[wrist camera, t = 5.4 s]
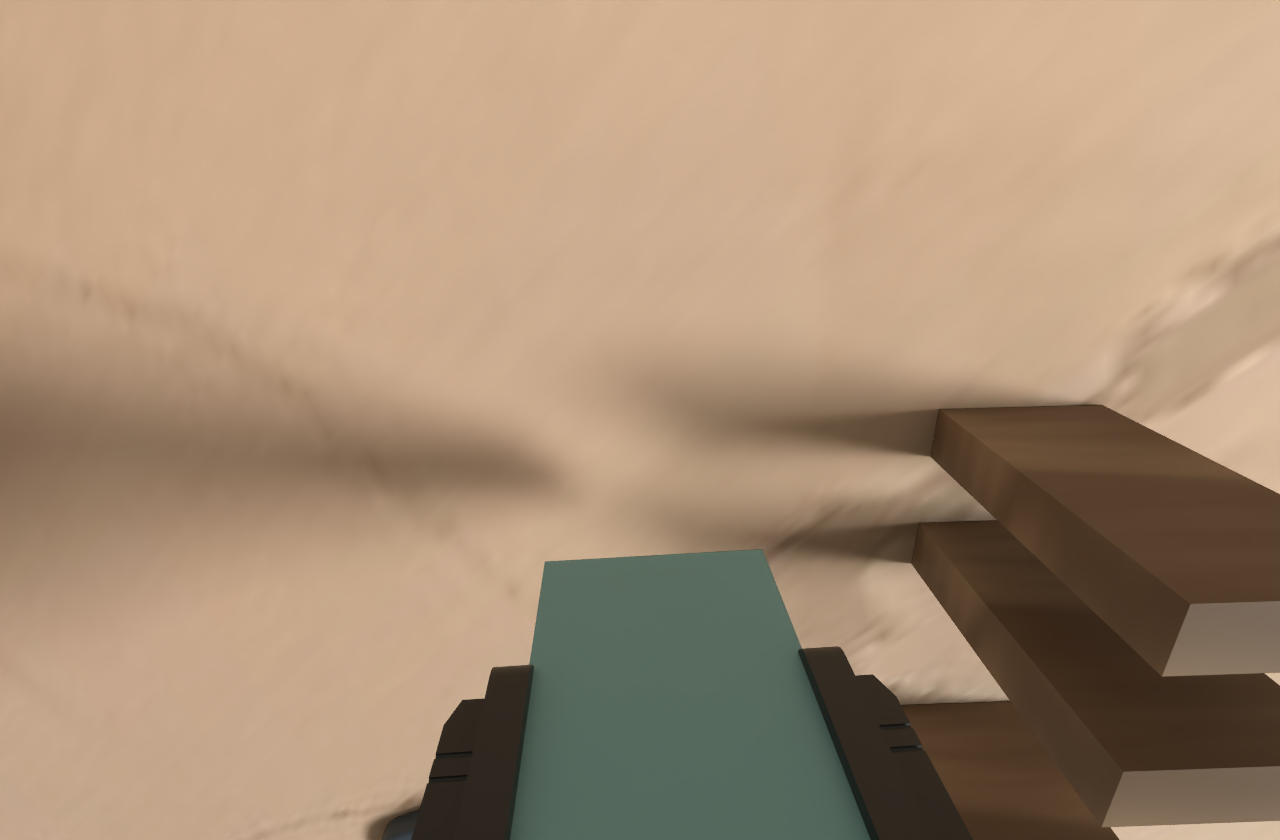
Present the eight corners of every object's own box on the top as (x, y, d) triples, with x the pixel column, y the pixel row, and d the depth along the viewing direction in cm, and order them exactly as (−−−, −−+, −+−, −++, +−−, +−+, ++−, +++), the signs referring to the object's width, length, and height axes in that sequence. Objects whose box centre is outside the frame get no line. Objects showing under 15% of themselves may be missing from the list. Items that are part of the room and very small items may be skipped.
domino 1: (759, 604, 15) (948, 1158, 7) (551, 617, 15) (482, 1200, 7) (762, 549, 14) (974, 1083, 6) (544, 561, 14) (460, 1127, 6)
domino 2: (1088, 452, 20) (1435, 667, 11) (930, 456, 19) (1161, 676, 11) (1102, 405, 19) (1479, 594, 11) (939, 409, 19) (1190, 604, 10)
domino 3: (1058, 559, 21) (1341, 818, 13) (911, 563, 21) (1101, 827, 13) (1069, 518, 20) (1376, 762, 12) (918, 522, 20) (1123, 771, 12)
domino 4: (1008, 732, 24) (1212, 1031, 16) (880, 736, 24) (1017, 1040, 16) (1017, 701, 23) (1234, 995, 15) (885, 705, 23) (1031, 1004, 15)
